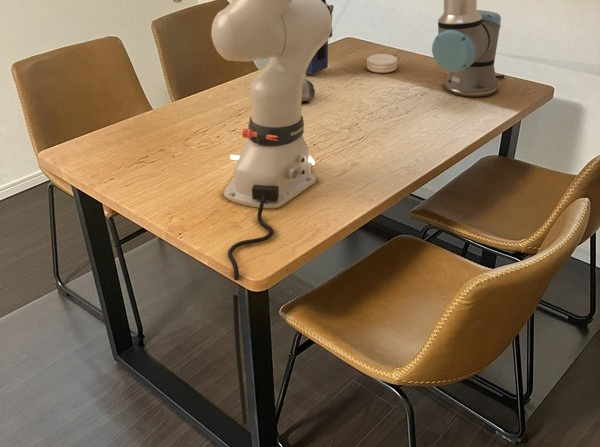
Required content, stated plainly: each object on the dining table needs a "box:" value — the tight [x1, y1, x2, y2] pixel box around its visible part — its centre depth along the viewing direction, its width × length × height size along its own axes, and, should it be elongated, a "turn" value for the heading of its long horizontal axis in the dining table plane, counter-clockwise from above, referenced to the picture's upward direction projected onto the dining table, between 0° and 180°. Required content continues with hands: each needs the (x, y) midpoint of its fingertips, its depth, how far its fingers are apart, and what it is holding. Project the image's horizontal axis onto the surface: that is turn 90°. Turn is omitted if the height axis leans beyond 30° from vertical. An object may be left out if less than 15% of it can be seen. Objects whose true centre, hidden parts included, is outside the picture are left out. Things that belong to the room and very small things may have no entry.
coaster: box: [366, 53, 398, 74], centre depth 205 cm, size 10×10×4 cm
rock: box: [301, 77, 316, 102], centre depth 184 cm, size 15×10×7 cm
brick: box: [305, 39, 329, 75], centre depth 200 cm, size 5×8×11 cm, turn 141°
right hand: (314, 57), depth 201 cm, fingers open, 5 cm apart
